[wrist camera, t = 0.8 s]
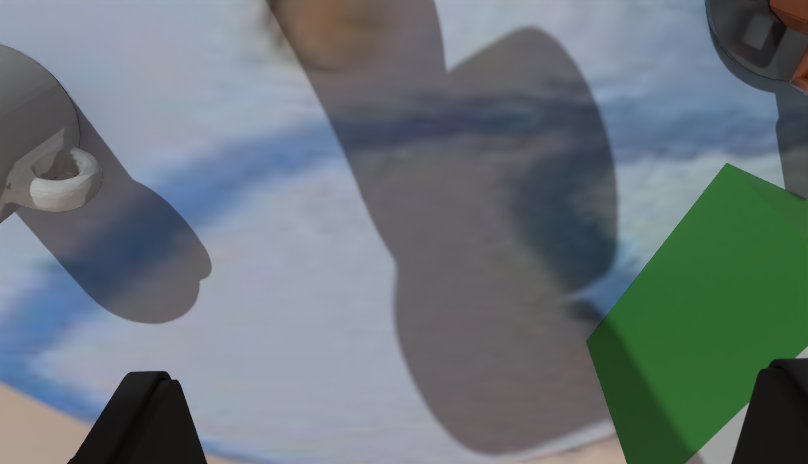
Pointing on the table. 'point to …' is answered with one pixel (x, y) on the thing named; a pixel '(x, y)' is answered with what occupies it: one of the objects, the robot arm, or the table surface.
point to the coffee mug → (40, 141)
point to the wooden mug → (804, 12)
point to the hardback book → (706, 323)
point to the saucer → (756, 37)
